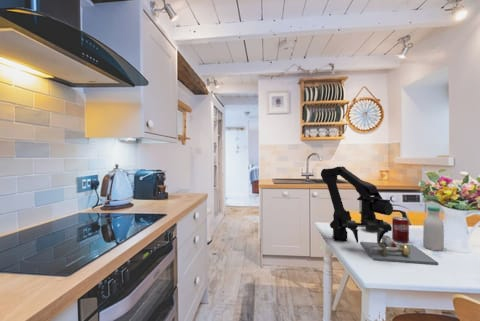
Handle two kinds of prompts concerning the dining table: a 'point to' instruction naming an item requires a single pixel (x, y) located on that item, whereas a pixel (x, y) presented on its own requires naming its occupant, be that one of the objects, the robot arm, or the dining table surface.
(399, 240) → the soda can
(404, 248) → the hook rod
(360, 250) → the dining table surface
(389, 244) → the ball-ended metal rod
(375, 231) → the mortar and pestle
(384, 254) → the eye staple
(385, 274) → the dining table surface
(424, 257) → the flat gray base plate
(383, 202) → the robot arm
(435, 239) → the milk bottle
